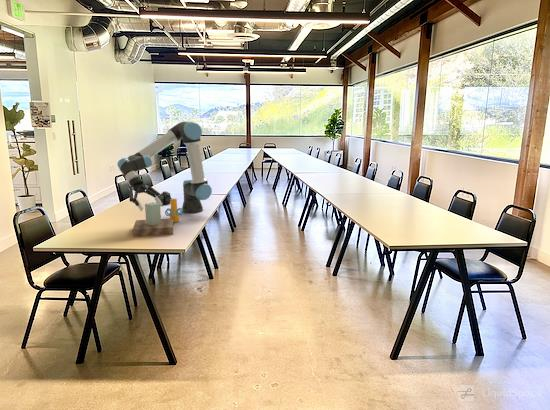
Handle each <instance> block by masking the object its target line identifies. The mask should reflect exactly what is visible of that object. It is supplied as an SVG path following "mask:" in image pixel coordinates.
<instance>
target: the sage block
mask: <svg viewBox="0 0 550 410" xmlns="http://www.w3.org/2000/svg"><path fill="white" fill-rule="evenodd" d="M144 207H145V209H144V210H145V220H146V224H149V225H157V224H160V223H161V219H162V215H161V207H160V204H159V203H156V202H150V203H149V202H148V203H145V204H144Z"/></svg>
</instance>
